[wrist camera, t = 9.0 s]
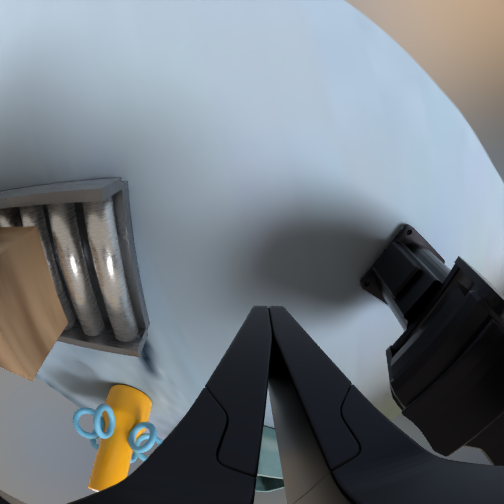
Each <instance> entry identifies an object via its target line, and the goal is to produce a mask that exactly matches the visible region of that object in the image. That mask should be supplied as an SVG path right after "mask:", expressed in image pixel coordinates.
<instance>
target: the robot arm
mask: <svg viewBox="0 0 504 504" xmlns="http://www.w3.org/2000/svg"><path fill="white" fill-rule="evenodd" d="M408 230H410V231H409V233H407V231H408ZM444 263H445V261H444V259H443V258H442V257H441V256H440V255H439V254H438V253H437V252H436V251H435V250H434V248H433V247H432V246H431V245H430V244H429V243H428V242H427V241H426V240H425V239H424V238H423V237H422V236H421V235H420V234H419V233H418V232H417V231H416V230H415V229H414V228H413V227H412V226H410V225H406V226H404V227H403V229H402V230H401V231H400V233H399V234H398V235H397V236H396V238H395V239H394V240H393V242H392V243H391V244H390V245H389V247H388V248H387V249H386V250H385V251H384V253H383V254H382V255H381V256H380V258H379V259H378V260H377V261H376V262H375V264H374V265H373V266H372V267H371V268H370V269H369V271H368V272H367V273H366V274H365V275H364V276H363V278H362V279H361V280H360V285H361V287H362V288H363V289H365V290H366V291H368V292H369V293H371V294H372V295H374V296H375V297H377V298H379V299H380V300H382V301H383V302H385V303H386V304H388V305H389V306H390V308H391V310H392V311H393V313H394V315H395V316H396V318H397V319H398V321H399V323H400V324H401V326H402V328H403V329H404V331H405V332H404V333H403V334H402V335H401V336H400V337H399V338H398V340H397V341H396V342H395V343H394V344H393V345H392V346H390V347H389V348H388V349H387V350H386V356H387V363H388V371H389V380H390V388H391V393H392V397H393V399H394V400H395V402H396V403H397V405H398V406H399V407H400V409H401V410H402V414H403V415H404V416H405V417H407V418H408V419H409V420H411V421H412V422H413V423H414V424H415V425H416V426H417V427H418V428H419V429H420V430H421V432H422V433H423V435H424V436H425V437H426V439H427V440H428V442H429V443H430V445H431V447H432V449H433V450H434V451H435V452H437V453H439V454H442V455H444V456H449V455H451V454H452V453H454V452H455V451H457V450H458V449H460V448H461V447H462V446H464V447H470V448H476V449H480V450H481V451H482V452H483V453H484V455H485V456H486V457H487V459H488V460H489V461H490V463H491V464H492V465H483V464H473V463H466V462H459V461H453V460H447V459H444V458H440V457H438V456H435V455H433V454H432V453H430V452H428V451H427V450H425V449H424V448H422V447H421V446H420V445H419V444H418V443H416V442H415V441H414V440H413V439H411V438H410V437H409V436H408V435H407V434H405V433H404V432H403V431H402V430H401V429H399V428H398V427H397V426H396V425H394V424H393V423H392V422H391V421H390V420H389V419H388V418H386V417H385V416H384V415H383V414H382V413H381V412H380V411H379V410H378V409H376V408H375V407H374V406H373V405H372V404H371V403H370V402H369V401H368V400H367V399H366V398H365V396H364V395H363V394H362V393H361V392H360V391H359V390H358V389H357V388H356V387H355V386H354V385H351V384H352V383H351V381H350V380H349V379H348V378H347V377H346V376H345V375H344V374H343V373H342V372H341V370H340V369H339V368H338V367H337V366H336V365H335V364H334V363H333V362H332V360H331V359H330V358H329V357H328V356H327V355H326V354H325V353H324V352H323V350H322V349H321V348H320V347H319V346H318V345H317V344H316V343H315V342H314V340H313V339H312V338H311V337H310V336H309V335H308V334H307V333H306V331H305V330H304V329H303V328H302V327H301V326H300V325H299V324H298V322H297V321H296V320H295V319H294V318H293V317H292V316H291V315H290V313H289V312H288V311H287V310H286V309H285V308H284V307H283V306H270V307H269V308H268V307H267V306H254V307H253V308H252V309H251V311H250V313H249V314H248V316H247V318H246V320H245V321H244V323H243V325H242V326H241V328H240V330H239V331H238V333H237V335H236V336H235V338H234V340H233V341H232V343H231V345H230V346H229V348H228V350H227V351H226V353H225V355H224V356H223V358H222V359H221V361H220V363H219V364H218V366H217V368H216V369H215V371H214V372H213V374H212V376H211V377H210V379H209V381H208V382H207V384H206V385H205V388H203V390H202V391H201V393H200V395H199V396H198V398H197V399H196V401H195V402H194V404H193V405H192V407H191V408H190V409H189V411H188V412H187V414H186V415H185V416H184V418H183V419H182V420H181V421H180V422H179V424H178V425H177V426H176V427H175V428H174V430H173V431H172V432H171V433H170V434H169V435H168V436H167V437H166V439H165V440H164V441H163V442H162V443H161V444H160V445H159V446H158V447H157V448H156V449H155V450H154V452H153V453H152V454H151V455H150V456H149V457H148V458H147V459H146V460H145V461H144V462H143V463H142V464H141V465H140V466H139V467H138V468H137V469H136V470H135V471H134V472H133V473H132V474H130V475H129V476H128V477H126V478H125V479H124V480H122V481H120V482H119V483H117V484H115V485H113V486H110V487H108V488H106V489H104V490H101V491H99V492H96V493H94V494H92V495H89V496H87V497H84V498H81V499H79V500H76V501H73V502H70V503H67V504H253V503H254V496H255V488H256V481H257V479H256V478H257V473H258V466H259V458H260V450H261V442H262V434H263V426H264V417H265V408H266V399H267V390H268V389H269V395H270V402H271V408H272V414H273V420H274V426H275V432H276V438H277V444H278V451H279V457H280V463H281V469H282V475H283V481H284V487H285V492H286V498H287V504H504V296H503V295H502V294H501V293H500V292H499V291H498V290H497V289H496V288H495V287H494V286H493V285H492V284H491V283H490V282H488V281H487V280H486V279H485V278H484V277H483V276H482V275H481V274H480V273H478V272H477V271H476V270H475V269H474V268H473V267H471V266H470V265H469V264H468V263H467V262H465V261H464V260H463V259H462V258H460V257H459V256H458V258H457V259H456V261H455V262H454V263H455V265H454V266H453V268H452V269H451V270H450V269H449V268H448V267H447V266H446V265H445V264H444ZM367 281H368V282H367ZM365 282H367V283H366V284H364V283H365ZM0 504H26V503H24V502H22V501H20V500H18V499H16V498H14V497H12V496H10V495H8V494H6V493H5V492H3V491H1V490H0Z"/></svg>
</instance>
